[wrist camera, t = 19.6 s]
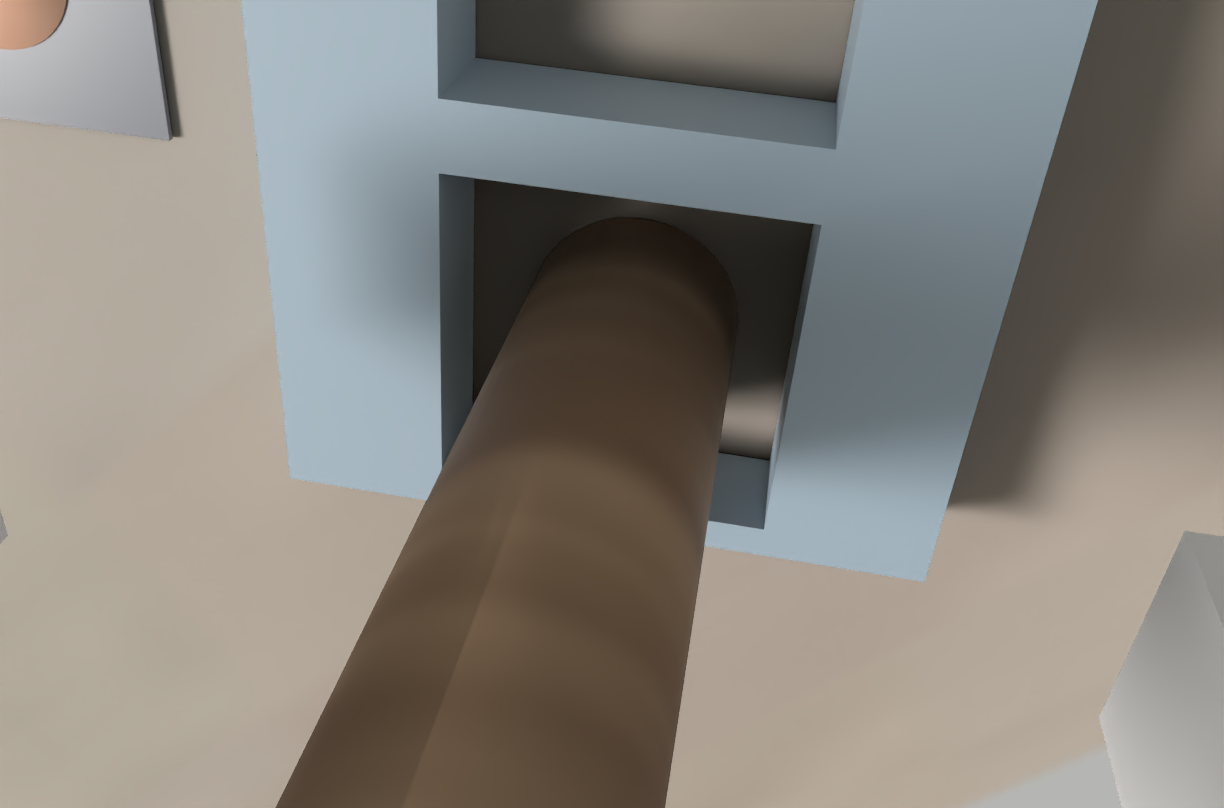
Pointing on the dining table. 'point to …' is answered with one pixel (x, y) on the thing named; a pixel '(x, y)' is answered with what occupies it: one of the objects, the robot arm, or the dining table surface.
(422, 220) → the socket board
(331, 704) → the peg
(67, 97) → the card
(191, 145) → the dining table surface
